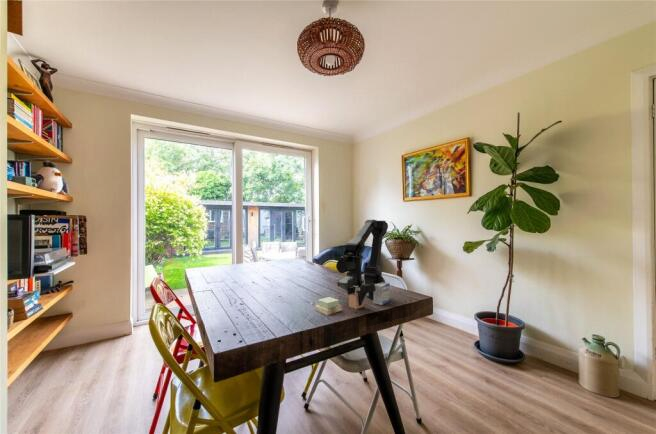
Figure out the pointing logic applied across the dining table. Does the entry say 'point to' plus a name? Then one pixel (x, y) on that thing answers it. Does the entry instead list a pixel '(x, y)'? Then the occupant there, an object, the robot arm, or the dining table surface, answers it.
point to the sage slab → (328, 302)
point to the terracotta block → (354, 301)
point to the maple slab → (328, 311)
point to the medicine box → (382, 293)
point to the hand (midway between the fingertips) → (356, 304)
